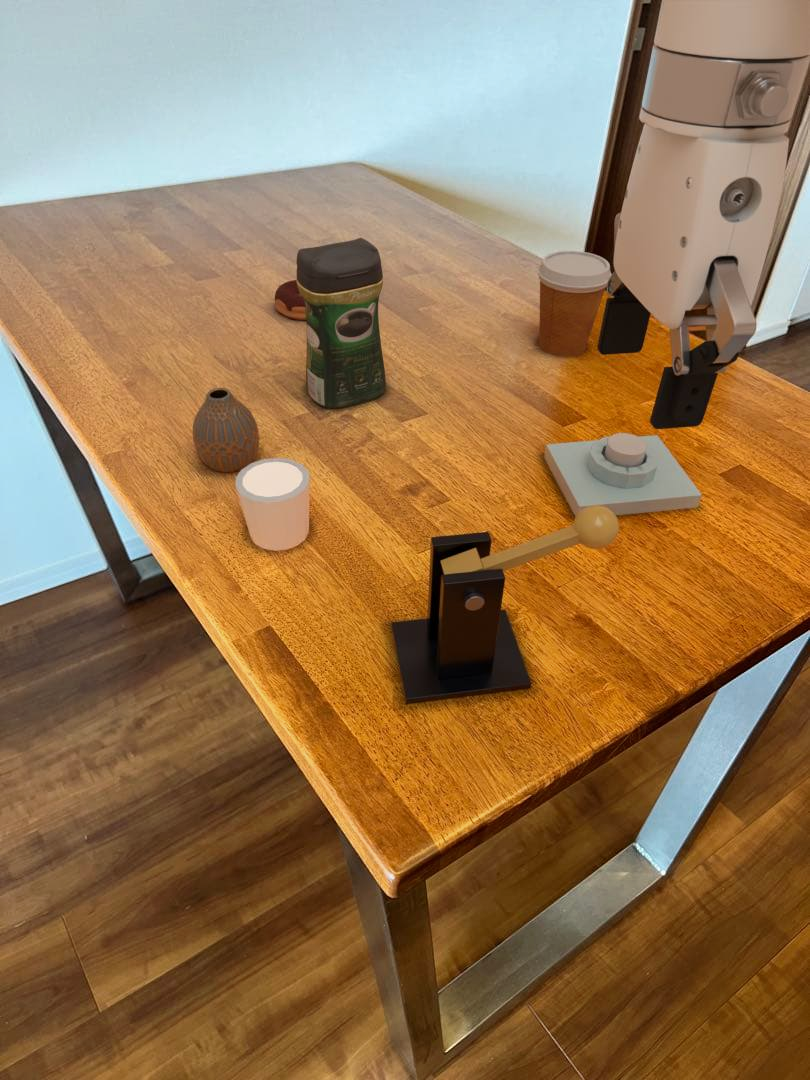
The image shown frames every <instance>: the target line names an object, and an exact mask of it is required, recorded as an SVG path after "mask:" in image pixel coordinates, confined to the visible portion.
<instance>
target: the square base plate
mask: <svg viewBox="0 0 810 1080" xmlns="http://www.w3.org/2000/svg"><path fill="white" fill-rule="evenodd" d="M609 437H610V436H603V437H601V438H600V439H595V440H582V441H580V440H579V441H570V442H558V443H546V444H545V449H544V456H543V458H544V460H545V462H546V464H547V466H548V468H549V470H550V472H551V474H552V476H553V478H554V479H555V482H556V483H557V486H558V487H559V489H560V491H561V492H562V494H563V496H564V498H565V500H566V502H567V503H568V506H569V508H570V509H571V512H572V513H573V516H574V517H575V518H576V516H577V515H578V513H579V512H580V511H581V510H583V509H584V508H586V507H588V506H592V505H601V506H604V507H607V508H609V509H610V510H611V511H612V512H613V513H614V514H615V515H616V516H622V515H623V516H624V515H633V514H635V515H636V514H645V513H655V512H664V511H666V512H667V511H673V510H684V509H694V508H698V507H699V505H700V501H701V499H702V497H703V494H702V493H701V492H700V490H699V489H698V487H697V486H696V484H695V483H694V482H693V480H692V479H691V478H690V477H689V476H688V474H687V473H686V471H685V470H684V469H683V467H682V466H681V465H680V464H679V462H678V461H677V459H676V458H675V456H674V455H673V454H672V452H671V451H670V450H669V448H668V447H667V446H666V444H665V443H664V442H663V440H662V439H661V438H660V437H659V435H658V434H654V435H642V436H641V435H640V436H639V437H640V438H642V439H643V440H644V441H645V442H646V444H647V450H646V453H645V457H644V460H643V463H642V464H641V465H640V466H638V467H630V468H626V467H621V466H616V465H614V464H612V463H610V462H609V461H607V460H606V458H605V456H604V453H605V449H606V444H607V440H608V438H609Z"/></svg>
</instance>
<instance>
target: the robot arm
mask: <svg viewBox="0 0 810 1080" xmlns="http://www.w3.org/2000/svg"><path fill="white" fill-rule="evenodd" d="M657 19H658V20H657V24H656V29H655V35H654V40H653V43H654V44H653V45H652V50H651V55H650V60H649V66H648V70H647V76H646V80H645V85H644V90H643V95H642V101H641V106H640V111H639V117H638V119H639V121H640V122H641V123H642V124H643V128H642V130H641V134H640V138H639V141H638V144H637V148H636V151H635V154H634V159H633V163H632V167H631V170H630V174H629V178H628V181H627V186H626V189H625V195H624V199H623V203H622V207H621V211H620V212H619V213H617V214H616V215H615V217H614V223H613V224H614V225H613V226H614V227H613V229H614V230H613V232H614V233H613V248H612V249H611V252H610V255H609V260H610V263H611V274H612V275H611V277H610V278H609V280H608V282H607V286H606V293H607V295H608V297H606V301H605V305H604V311H603V316H602V321H601V327H600V330H599V331H600V332H599V336H598V341H597V345H596V348H597V351H598V352H599V353H600V354H601V355H603V356H605V355H607V356H608V355H624V354H636V353H637V354H638V353H640V352H641V351H642V349H643V347H644V342H645V340H646V334H647V330H648V327H649V322H650V320H651V319H650V318H651V315H652V316H653V317H654V318H655V319H656V320H657V321H658V322H659V323H660V324H662V326H663V327H666V328H667V329H669V336H670V337H669V340H670V353H671V354H670V355H671V366H664V367H663V371H662V375H661V378H660V382H659V385H658V389H657V393H656V396H655V399H654V403H653V407H652V411H651V415H650V419H649V423H650V424H651V426H652V427H653V428H654V429H655V430H667V429H680V428H695V427H699V426H700V425H701V424H702V423H703V421H704V418H705V414H706V412H707V408H708V405H709V402H710V399H711V397H712V392H713V391H714V388H715V384H716V381H717V379H718V378H717V377H718V374H721V373H724V372H726V370H727V368H728V366H729V365H731V364H733V363H735V362H736V361H737V360H738V358H739V356H740V353H741V351H742V350H743V349H744V347H746V345H747V344H748V343H749V341H750V340H751V339H752V338H753V336H754V335H755V334H756V330H757V320H756V317H755V314H754V312H753V309H752V304H753V302H754V299H755V296H756V292H757V289H758V285H759V282H760V279H761V275H762V272H763V269H764V266H765V261H766V258H767V254H768V250H769V246H770V243H771V239H772V235H773V231H774V227H775V222H776V219H777V214H778V211H779V206H780V201H781V197H782V192H783V187H784V179H785V174H786V168H787V161H788V153H789V152H788V151H789V143H790V138H789V137H788V136H786V135H785V134H786V133H787V132H788V131H789V129H790V128H789V127H790V125H791V122H792V118H793V117H794V113H795V109H796V106H797V103H798V100H799V97H800V93H801V90H802V87H803V85H804V81H805V77H806V75H807V72H808V68H809V65H810V0H661V4H660V9H659V13H658V18H657ZM703 309H706V314H703V315H702V314H701V315H686V311H691V310H703ZM695 331H696V332H697V331H705V337H706V340H705V341H703V342H702V343H700V344H698V345H697V346H695V347H694V348H692V349H691V343H690V332H695Z"/></svg>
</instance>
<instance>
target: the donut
mask: <svg viewBox="0 0 810 1080" xmlns="http://www.w3.org/2000/svg"><path fill="white" fill-rule="evenodd" d="M274 301H275V304H274V305H275V310H276V311H277V312H279V313H280V314H282V315H283V316H285V317H286V318H287V317H288V318H290V319H292V320H297V321H306V310H305V303H304V300H303V298H302V296H301V294H300V292H299V289H298V286H297V282H296V279H293V280H288V281H286V282H284V283H282V284H279V285H278V287H277V289H275V293H274Z"/></svg>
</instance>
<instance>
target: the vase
mask: <svg viewBox="0 0 810 1080" xmlns="http://www.w3.org/2000/svg"><path fill="white" fill-rule="evenodd" d="M259 433H260V432H259V427H258V423H257V421H256V419H255V417H254V415H253V413H252V412H251V411H250V409H249V408H248V407H247V406H246V405H245V404H244V403H242V401H240V400H238V399H237V398H236V397H235V396H234V395H233V393H232V392H231V390H229V389H228V388H225V387H216V388H212V389H210V390H209V391H208V392H207V393H206V395H205V399H204V401H203V403H202V405H200V408H199V409H198V410H197V412H196V413H195V416H194V419H193V423H192V440H193V444H194V448H195V451H196V453H197V454H198V457H199V458H200V460H201V461H202V462H203V463H204V464H205V465H206V466H207V467H209V468H210V469H212V470H213V471H216V472H219V473H234V472H240V471H241V470H242V469H243V468H245V467H246V466H248V465H249V464H251V463H253V462H254V460H255V459H256V457H257V454H258V451H259V446H260V434H259Z"/></svg>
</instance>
